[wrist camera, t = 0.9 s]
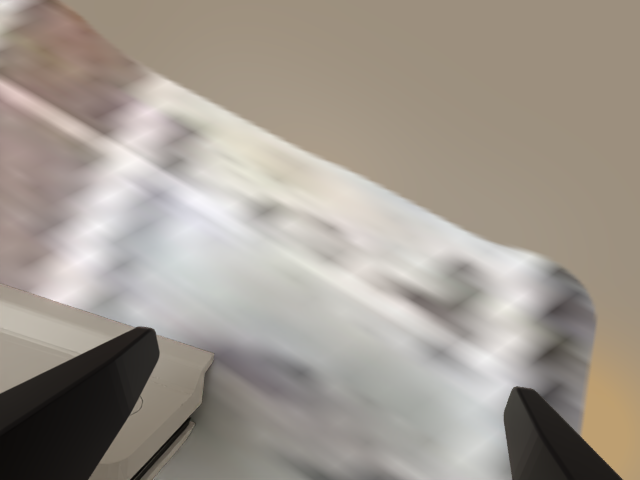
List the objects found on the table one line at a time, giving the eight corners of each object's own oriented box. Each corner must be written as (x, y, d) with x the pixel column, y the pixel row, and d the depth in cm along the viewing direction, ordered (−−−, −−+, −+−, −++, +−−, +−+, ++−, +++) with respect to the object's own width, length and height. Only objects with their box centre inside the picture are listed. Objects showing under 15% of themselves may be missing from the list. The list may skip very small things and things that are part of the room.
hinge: (220, 355, 22) (129, 484, 13) (199, 424, 23) (97, 599, 13) (-43, 269, 23) (-341, 330, 13) (-56, 340, 23) (-351, 451, 13)
